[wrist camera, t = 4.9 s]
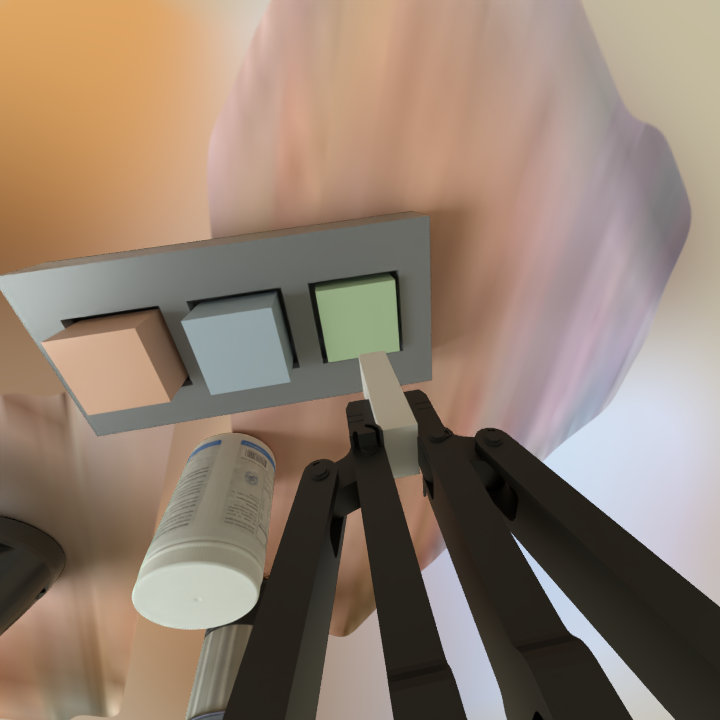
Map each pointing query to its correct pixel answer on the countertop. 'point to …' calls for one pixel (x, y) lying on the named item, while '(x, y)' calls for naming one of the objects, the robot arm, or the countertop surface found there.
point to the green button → (358, 315)
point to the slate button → (240, 342)
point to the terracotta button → (118, 361)
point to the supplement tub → (211, 537)
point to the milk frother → (220, 665)
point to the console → (235, 279)
